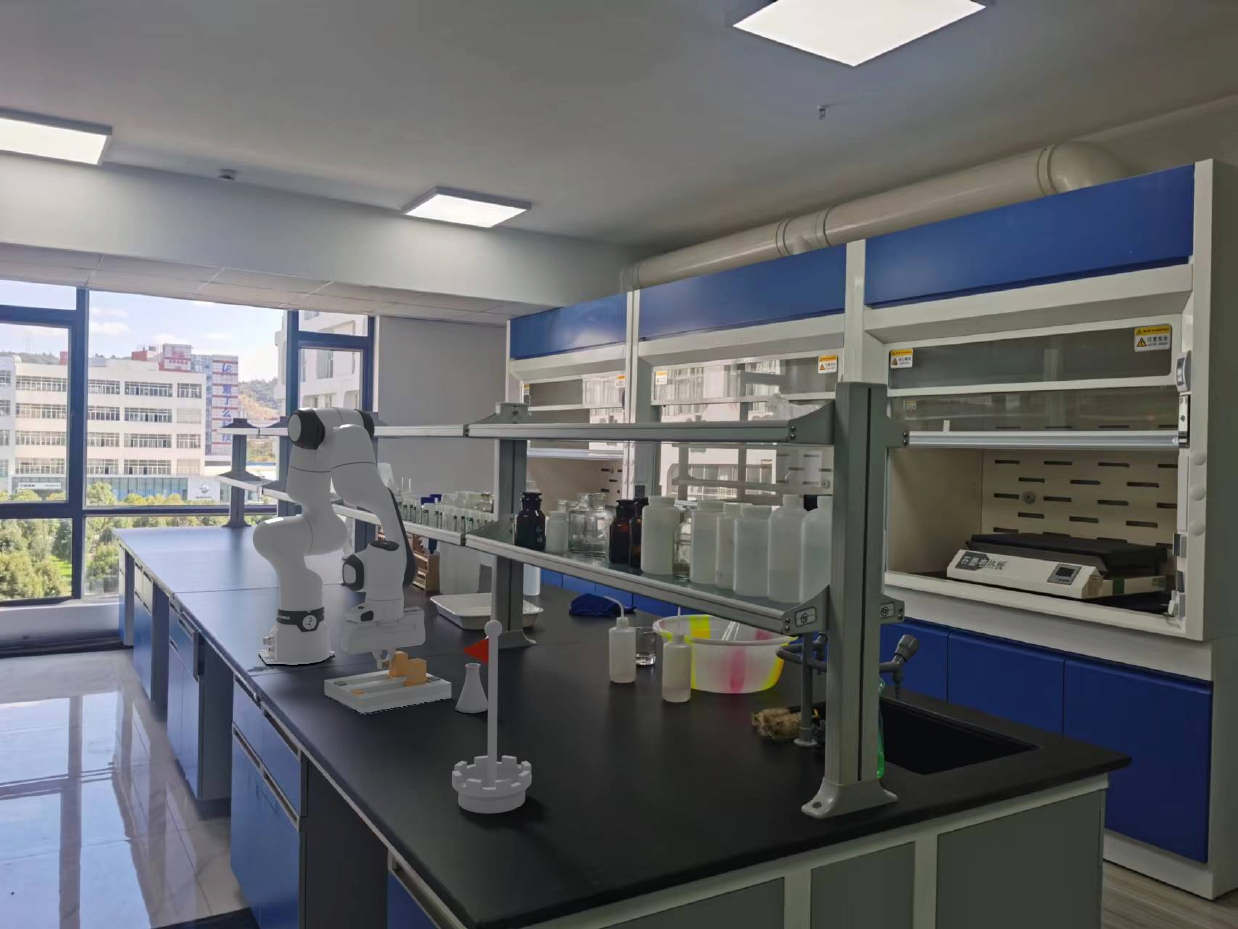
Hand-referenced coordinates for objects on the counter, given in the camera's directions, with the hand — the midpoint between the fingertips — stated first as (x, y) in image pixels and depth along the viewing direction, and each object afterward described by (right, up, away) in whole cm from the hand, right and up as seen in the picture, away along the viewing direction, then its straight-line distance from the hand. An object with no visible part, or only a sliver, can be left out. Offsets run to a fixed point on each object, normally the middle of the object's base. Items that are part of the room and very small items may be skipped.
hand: (384, 668), depth 219 cm
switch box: (+2, -6, -4) cm, 7 cm away
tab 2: (+9, -4, -4) cm, 10 cm away
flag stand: (+35, -8, -66) cm, 75 cm away
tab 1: (+3, -4, +2) cm, 5 cm away
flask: (+23, -6, -14) cm, 28 cm away
